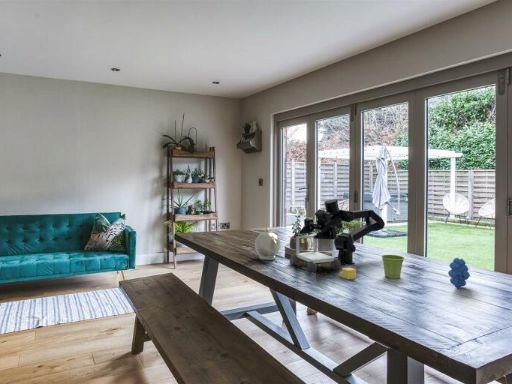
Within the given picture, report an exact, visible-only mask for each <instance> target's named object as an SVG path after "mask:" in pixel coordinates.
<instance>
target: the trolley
mask: <svg viewBox="0 0 512 384" xmlns="http://www.w3.org/2000/svg"><path fill="white" fill-rule="evenodd" d="M315 235H316V234H310V235H309V234H308V235H297V236H295V254H291V255H290V257H289V258H290V259H289V261H290V264H291V265H292V266H297V265H298V264H299V262H300V259H301V260H303V261H306V262H307V263H306V268H307V271H308V272H309V273H315V272H317V270H318V269H317V268H318V266H317V264H321V263H327V262H328V263H329V262H330V266H331V269H332V270H340V269H341V266H342V264H341V263H340V260H339V259H338V257H337V258H336V257H333V256H330V255H328V254H324V253H322V252H319V251H318V239H314V236H315ZM310 238H311V239H313V251H309V252H300V239H310Z"/></svg>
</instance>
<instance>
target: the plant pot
mask: <svg viewBox="0 0 512 384" xmlns="http://www.w3.org/2000/svg"><path fill="white" fill-rule="evenodd" d="M380 257H381V259H382V261H383V270H384V277H387V278H389V279H395V280H396V279H400V278H401V273H402V268H403V263H404V260H405V258H406V257H404V256H401V255H397V254H382V255H381V256H380Z"/></svg>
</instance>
